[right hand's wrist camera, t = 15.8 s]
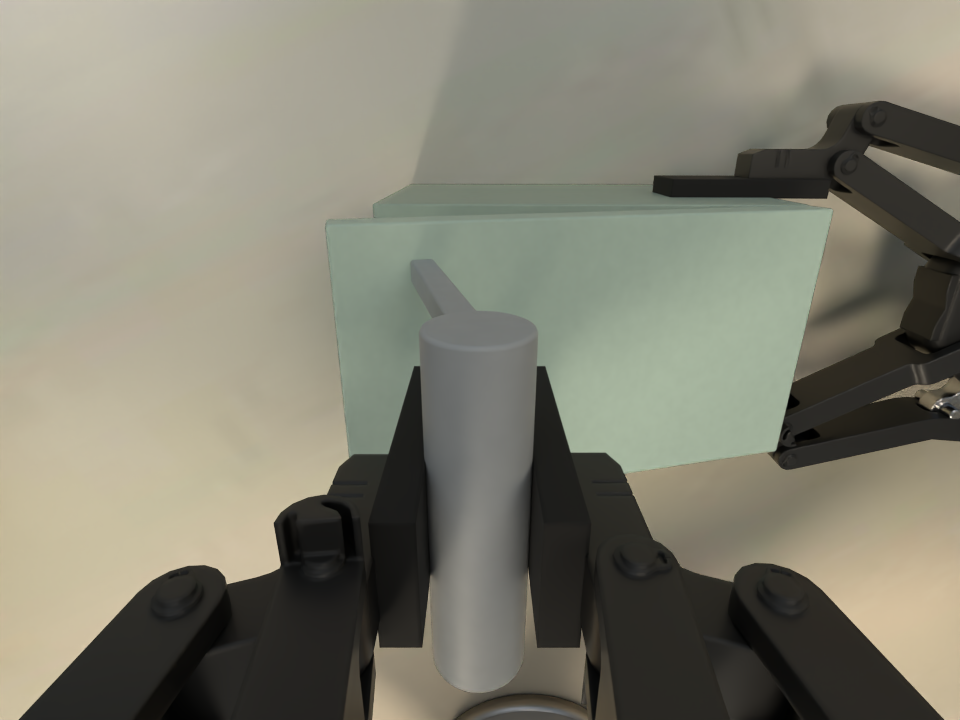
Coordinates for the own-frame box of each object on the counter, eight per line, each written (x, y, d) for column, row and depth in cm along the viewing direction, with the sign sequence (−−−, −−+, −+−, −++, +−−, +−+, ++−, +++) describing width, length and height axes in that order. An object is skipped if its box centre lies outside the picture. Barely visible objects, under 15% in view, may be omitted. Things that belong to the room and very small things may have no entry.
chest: (417, 348, 33) (388, 434, 24) (410, 183, 30) (372, 203, 20) (677, 349, 33) (759, 436, 23) (701, 184, 30) (810, 204, 20)
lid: (353, 494, 19) (367, 753, 11) (325, 219, 16) (314, 301, 8) (756, 437, 23) (987, 599, 15) (807, 205, 20) (1149, 249, 11)
